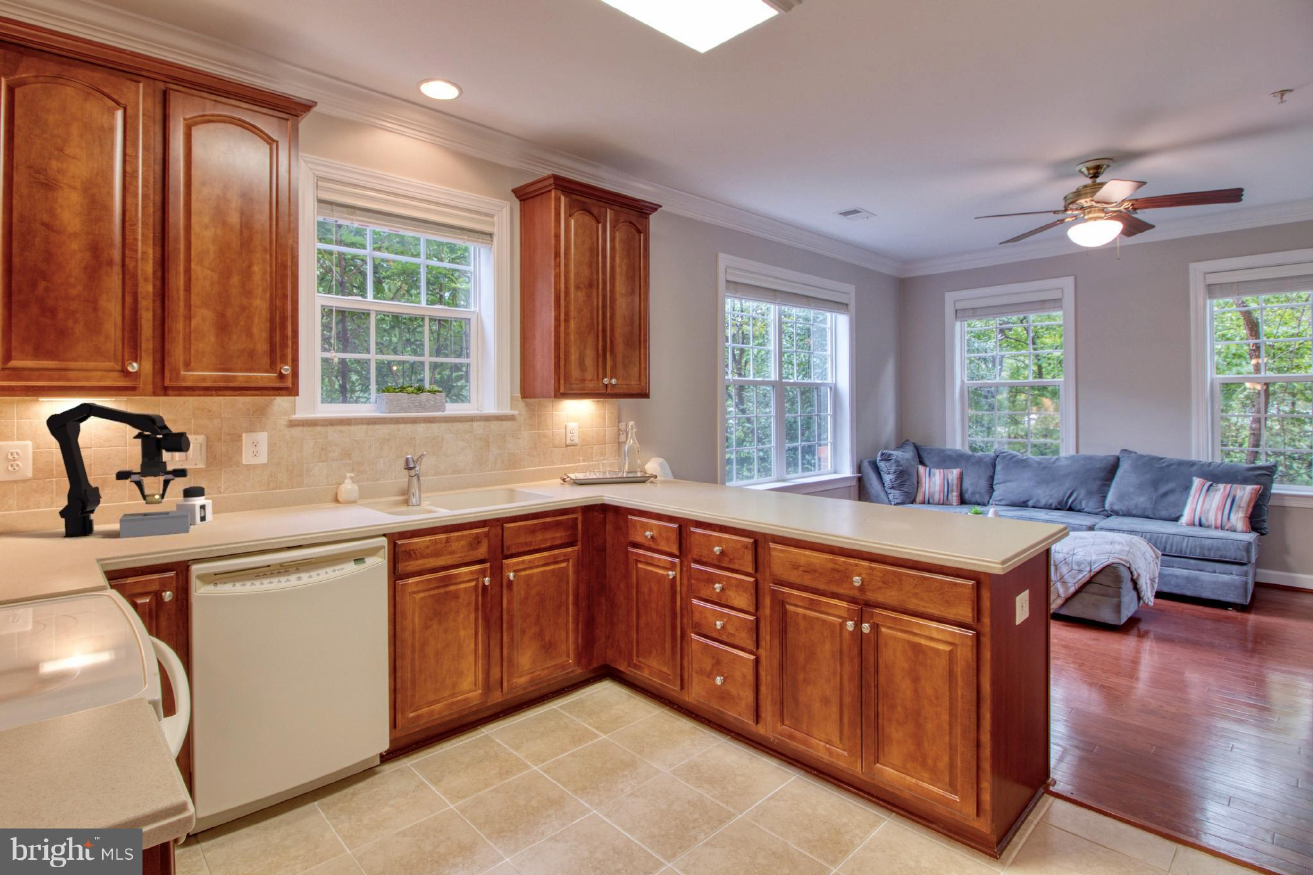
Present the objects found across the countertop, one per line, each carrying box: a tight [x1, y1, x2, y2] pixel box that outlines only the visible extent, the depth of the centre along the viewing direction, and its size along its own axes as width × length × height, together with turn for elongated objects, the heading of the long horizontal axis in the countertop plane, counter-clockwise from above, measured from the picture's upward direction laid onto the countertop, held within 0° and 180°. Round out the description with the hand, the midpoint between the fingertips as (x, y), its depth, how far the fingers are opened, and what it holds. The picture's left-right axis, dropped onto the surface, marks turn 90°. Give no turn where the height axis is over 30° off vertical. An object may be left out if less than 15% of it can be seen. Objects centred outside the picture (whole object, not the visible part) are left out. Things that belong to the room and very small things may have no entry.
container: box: [175, 485, 213, 526], centre depth 245 cm, size 8×8×13 cm
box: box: [119, 509, 191, 539], centre depth 228 cm, size 18×12×6 cm, turn 122°
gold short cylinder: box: [144, 492, 163, 505], centre depth 226 cm, size 4×4×3 cm
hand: (153, 500), depth 226 cm, fingers closed on gold short cylinder, 4 cm apart
